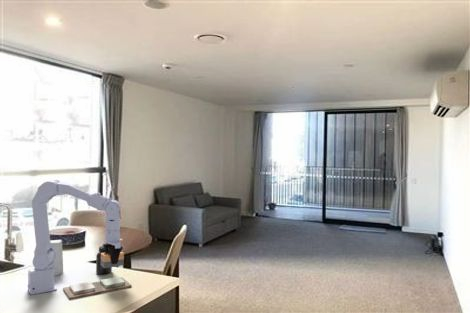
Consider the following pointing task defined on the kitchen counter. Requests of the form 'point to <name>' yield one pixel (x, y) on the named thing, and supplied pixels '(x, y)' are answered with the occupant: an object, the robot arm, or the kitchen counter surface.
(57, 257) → the skincare box
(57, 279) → the kitchen counter surface
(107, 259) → the plate
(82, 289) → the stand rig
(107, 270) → the supplement bottle
